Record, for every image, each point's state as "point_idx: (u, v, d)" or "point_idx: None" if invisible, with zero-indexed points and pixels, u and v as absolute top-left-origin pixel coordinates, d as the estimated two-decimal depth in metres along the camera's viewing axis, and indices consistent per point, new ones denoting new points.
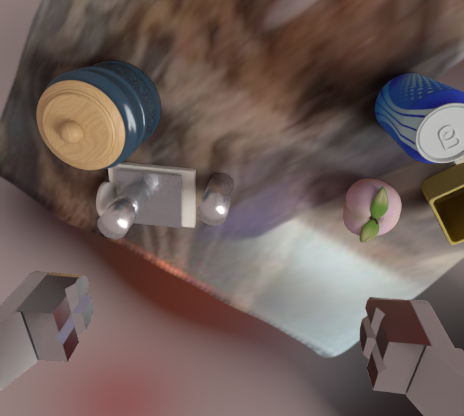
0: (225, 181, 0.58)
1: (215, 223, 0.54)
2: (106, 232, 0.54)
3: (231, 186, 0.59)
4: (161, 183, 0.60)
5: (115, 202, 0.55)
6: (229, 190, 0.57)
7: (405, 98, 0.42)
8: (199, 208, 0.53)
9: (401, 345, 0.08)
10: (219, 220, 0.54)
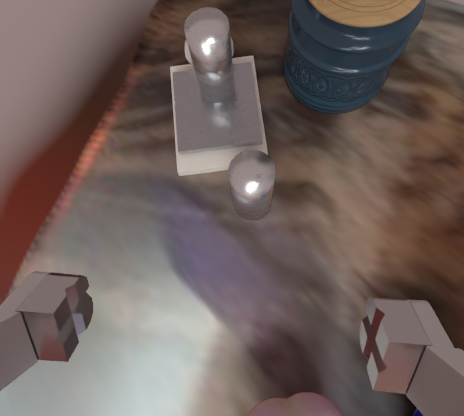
0: (271, 201, 0.40)
1: (233, 179, 0.33)
2: (194, 19, 0.35)
3: (263, 211, 0.40)
4: (245, 117, 0.43)
5: None
6: (265, 205, 0.38)
7: None
8: (254, 151, 0.34)
9: (401, 345, 0.08)
10: (240, 184, 0.33)
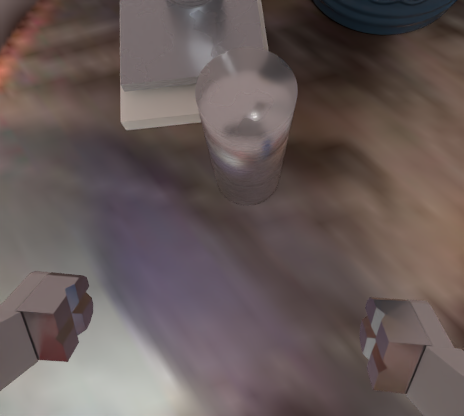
0: (280, 170, 0.22)
1: (205, 105, 0.15)
2: None
3: (266, 188, 0.22)
4: (238, 31, 0.25)
5: None
6: (271, 174, 0.20)
7: None
8: (252, 51, 0.16)
9: (401, 345, 0.08)
10: (220, 115, 0.15)
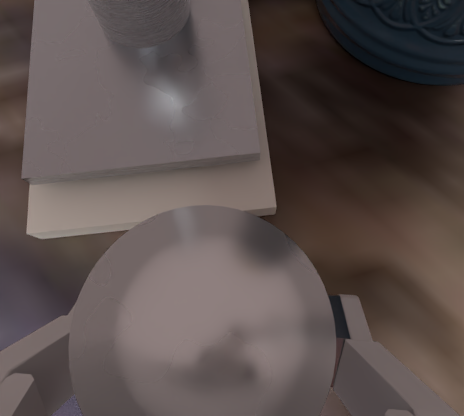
0: None
1: (92, 378, 0.06)
2: None
3: None
4: (214, 87, 0.16)
5: None
6: None
7: None
8: (219, 216, 0.06)
9: None
10: (129, 415, 0.06)
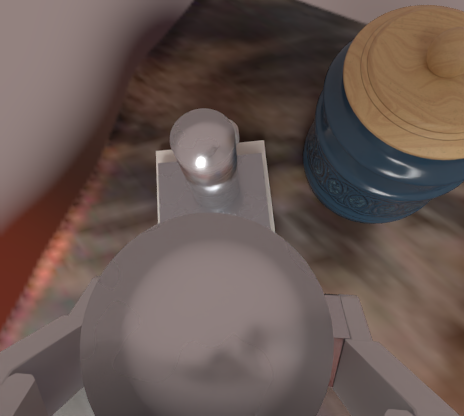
0: None
1: (102, 378, 0.06)
2: (184, 126, 0.24)
3: None
4: None
5: None
6: None
7: None
8: (223, 223, 0.07)
9: None
10: (137, 413, 0.06)
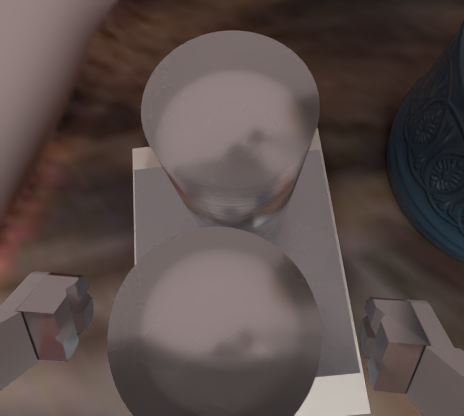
0: None
1: (126, 366, 0.07)
2: (181, 77, 0.09)
3: None
4: None
5: None
6: None
7: None
8: (228, 236, 0.08)
9: (401, 345, 0.08)
10: (157, 396, 0.07)
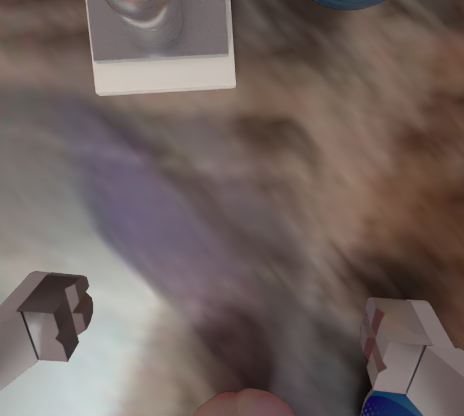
0: (176, 16, 0.24)
1: None
2: None
3: (164, 33, 0.24)
4: (203, 8, 0.27)
5: None
6: (163, 19, 0.22)
7: None
8: None
9: (401, 345, 0.08)
10: None
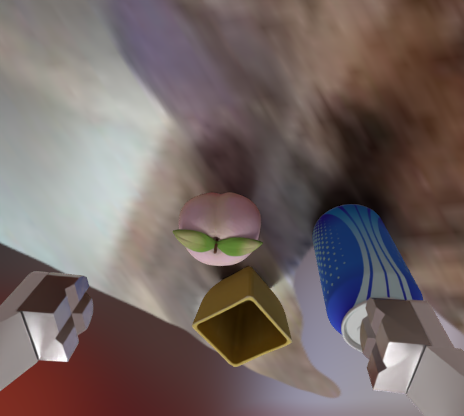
0: None
1: None
2: None
3: None
4: None
5: None
6: None
7: (399, 258, 0.34)
8: None
9: (401, 345, 0.08)
10: None
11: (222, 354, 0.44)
